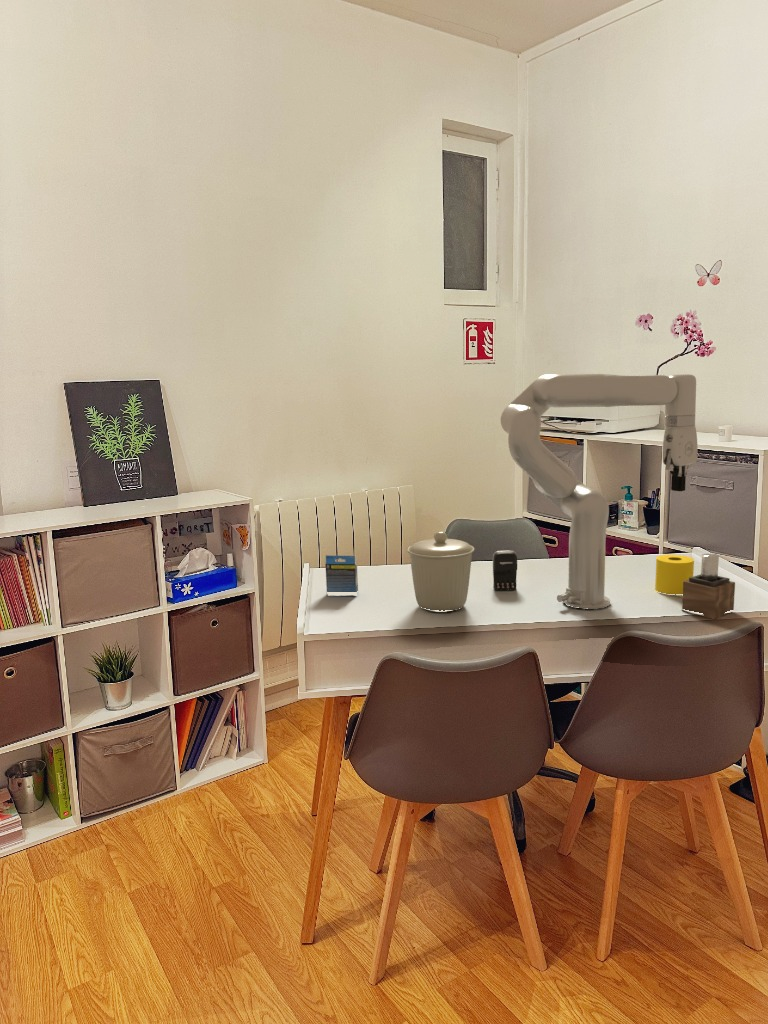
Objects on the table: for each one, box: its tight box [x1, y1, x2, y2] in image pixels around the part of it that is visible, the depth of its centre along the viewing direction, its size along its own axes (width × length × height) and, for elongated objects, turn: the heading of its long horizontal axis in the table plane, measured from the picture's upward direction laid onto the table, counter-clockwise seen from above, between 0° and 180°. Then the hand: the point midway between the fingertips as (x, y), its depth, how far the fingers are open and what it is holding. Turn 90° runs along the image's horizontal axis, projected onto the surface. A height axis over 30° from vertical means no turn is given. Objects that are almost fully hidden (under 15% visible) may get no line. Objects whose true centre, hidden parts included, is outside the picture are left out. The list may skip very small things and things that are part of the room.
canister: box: [406, 531, 475, 611], centre depth 215 cm, size 18×18×21 cm
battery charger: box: [492, 550, 518, 591], centre depth 231 cm, size 7×4×11 cm, turn 89°
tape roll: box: [654, 554, 695, 595], centre depth 226 cm, size 10×10×9 cm
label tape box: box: [325, 554, 359, 593], centre depth 231 cm, size 9×4×12 cm, turn 83°
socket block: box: [681, 573, 736, 620], centre depth 207 cm, size 9×9×9 cm
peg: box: [700, 553, 720, 582], centre depth 205 cm, size 4×4×8 cm
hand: (678, 490), depth 214 cm, fingers closed
